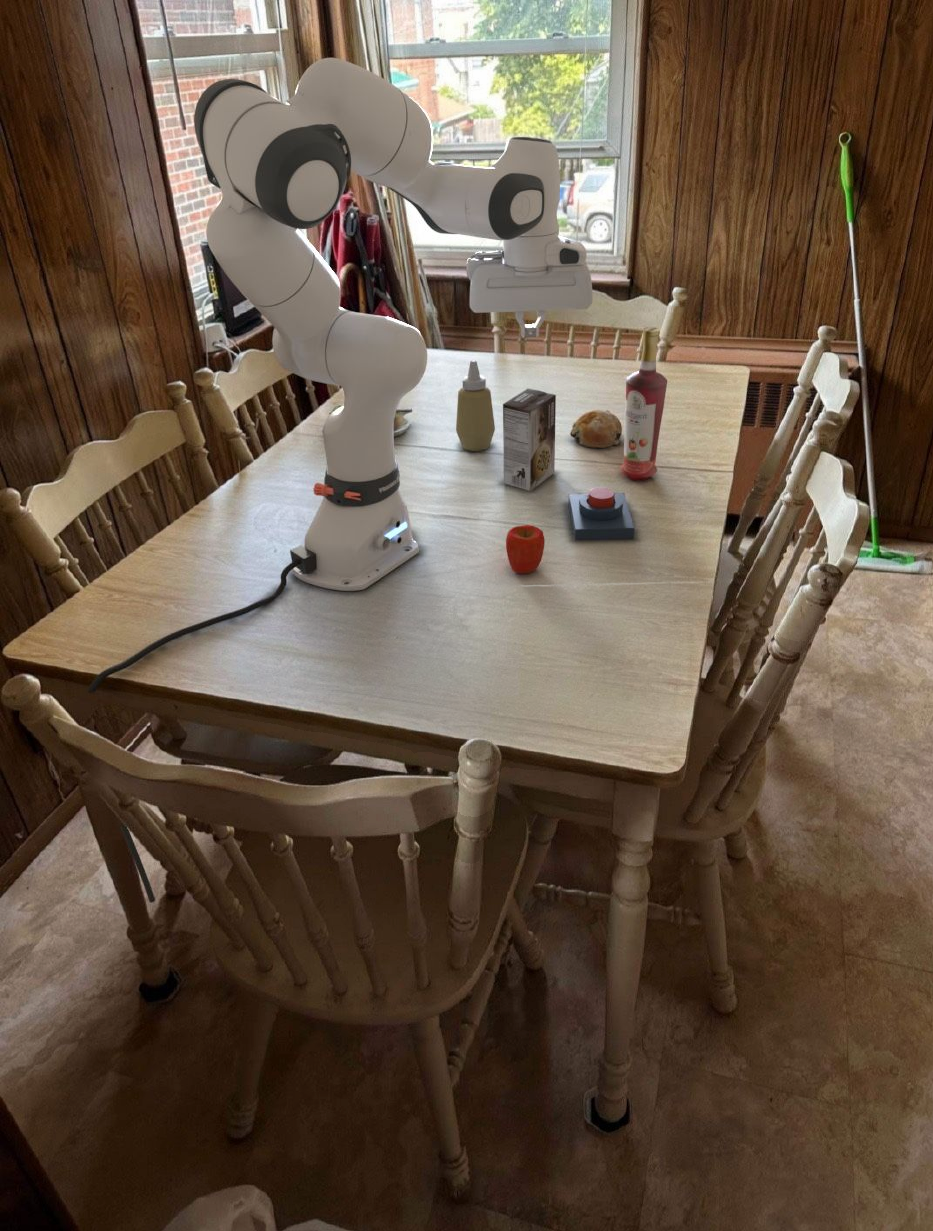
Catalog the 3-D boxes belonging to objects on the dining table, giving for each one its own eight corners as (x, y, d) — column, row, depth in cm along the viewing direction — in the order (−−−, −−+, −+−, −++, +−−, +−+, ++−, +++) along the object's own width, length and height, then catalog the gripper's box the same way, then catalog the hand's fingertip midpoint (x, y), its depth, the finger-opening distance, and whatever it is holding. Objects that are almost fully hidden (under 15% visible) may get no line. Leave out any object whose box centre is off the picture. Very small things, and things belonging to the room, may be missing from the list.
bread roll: (605, 467, 181) (623, 435, 176) (561, 442, 181) (579, 410, 176) (615, 447, 188) (633, 417, 183) (573, 423, 189) (591, 392, 184)
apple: (528, 584, 139) (528, 544, 135) (497, 572, 142) (497, 531, 138) (551, 568, 143) (552, 527, 139) (521, 556, 146) (521, 516, 142)
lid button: (615, 509, 151) (616, 498, 150) (589, 509, 151) (590, 499, 150) (612, 497, 155) (612, 486, 154) (587, 497, 155) (587, 487, 154)
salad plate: (398, 405, 203) (397, 386, 200) (430, 432, 190) (429, 411, 187) (318, 422, 196) (315, 402, 193) (346, 451, 183) (343, 430, 180)
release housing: (633, 539, 150) (635, 518, 147) (574, 540, 150) (575, 520, 148) (623, 503, 160) (624, 483, 158) (568, 504, 161) (569, 485, 158)
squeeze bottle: (496, 438, 186) (495, 353, 176) (493, 454, 179) (492, 367, 169) (458, 437, 187) (455, 353, 176) (454, 453, 180) (450, 367, 170)
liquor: (664, 474, 169) (680, 328, 153) (644, 487, 165) (657, 338, 149) (632, 463, 174) (644, 320, 157) (611, 476, 169) (621, 330, 153)
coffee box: (527, 466, 174) (527, 387, 165) (555, 473, 171) (557, 393, 162) (502, 483, 168) (501, 403, 159) (530, 491, 165) (531, 410, 156)
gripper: (465, 257, 138) (468, 344, 146) (596, 252, 138) (591, 340, 146) (466, 247, 144) (468, 332, 152) (591, 243, 143) (587, 329, 151)
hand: (530, 336), depth 149 cm, fingers closed
